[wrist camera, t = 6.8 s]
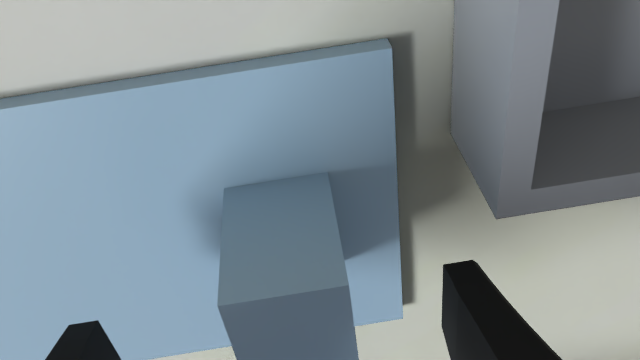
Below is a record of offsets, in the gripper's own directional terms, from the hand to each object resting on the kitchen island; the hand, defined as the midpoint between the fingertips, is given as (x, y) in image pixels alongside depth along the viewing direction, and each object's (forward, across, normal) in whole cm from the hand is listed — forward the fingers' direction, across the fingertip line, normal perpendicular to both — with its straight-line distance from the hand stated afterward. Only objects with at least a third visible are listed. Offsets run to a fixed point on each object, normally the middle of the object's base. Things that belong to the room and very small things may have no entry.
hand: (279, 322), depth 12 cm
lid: (+4, +3, 0) cm, 5 cm away
